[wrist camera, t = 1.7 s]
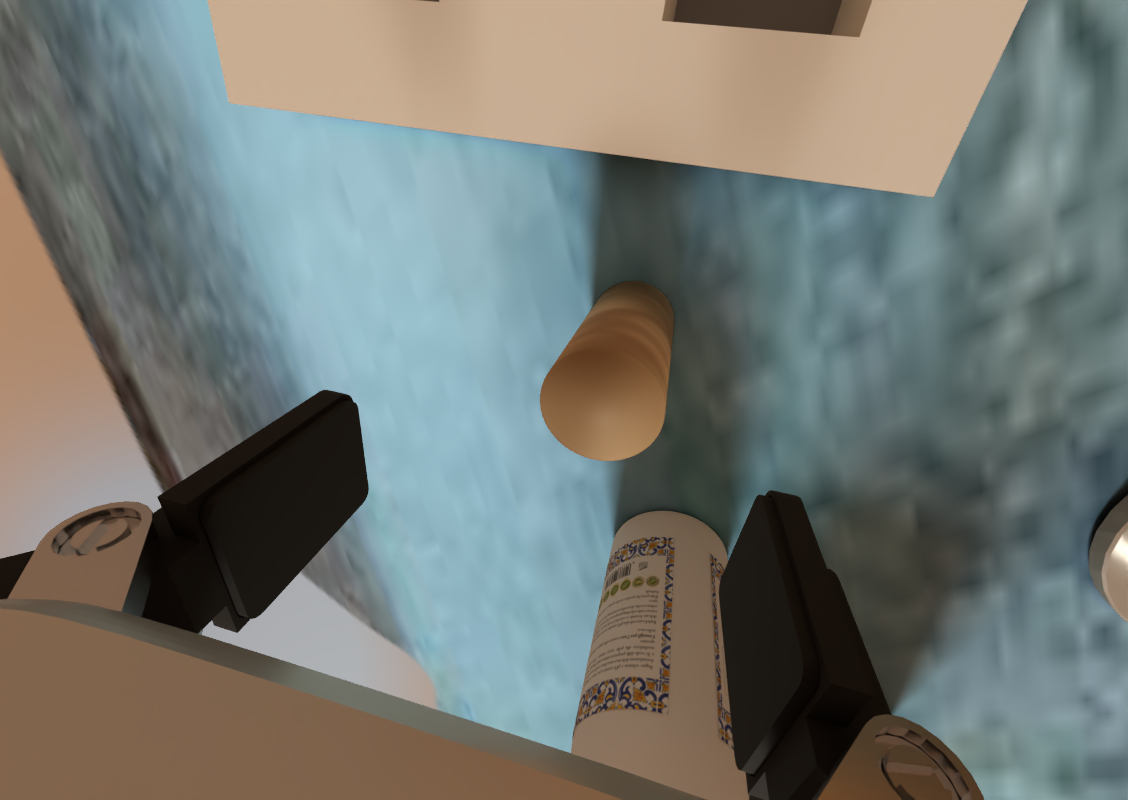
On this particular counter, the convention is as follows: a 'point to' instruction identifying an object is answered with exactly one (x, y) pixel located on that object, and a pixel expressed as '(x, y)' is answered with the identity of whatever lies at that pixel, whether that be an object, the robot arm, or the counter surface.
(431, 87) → the hole block
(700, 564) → the bath foam
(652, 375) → the oak pin
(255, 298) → the counter surface
